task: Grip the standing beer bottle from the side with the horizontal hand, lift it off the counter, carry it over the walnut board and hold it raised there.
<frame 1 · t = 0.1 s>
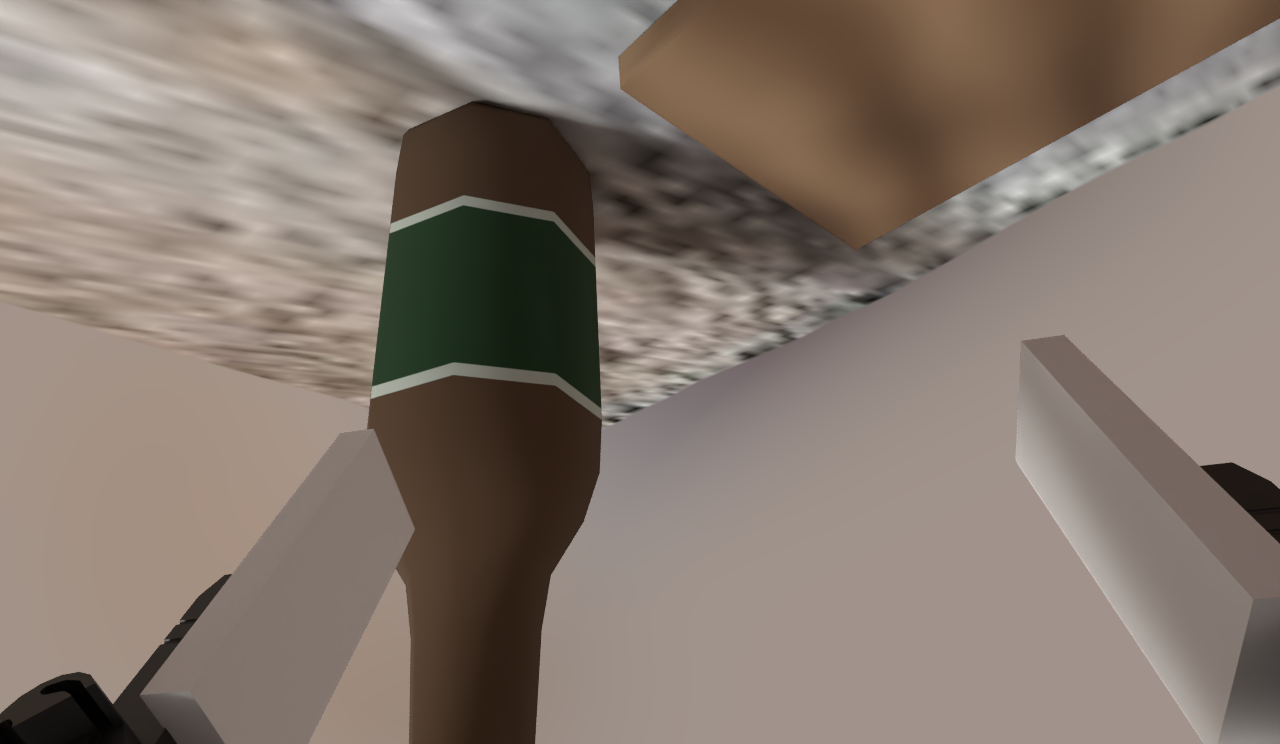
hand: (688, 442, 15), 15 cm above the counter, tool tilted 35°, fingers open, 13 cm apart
beer bottle: (493, 168, 30), on the counter
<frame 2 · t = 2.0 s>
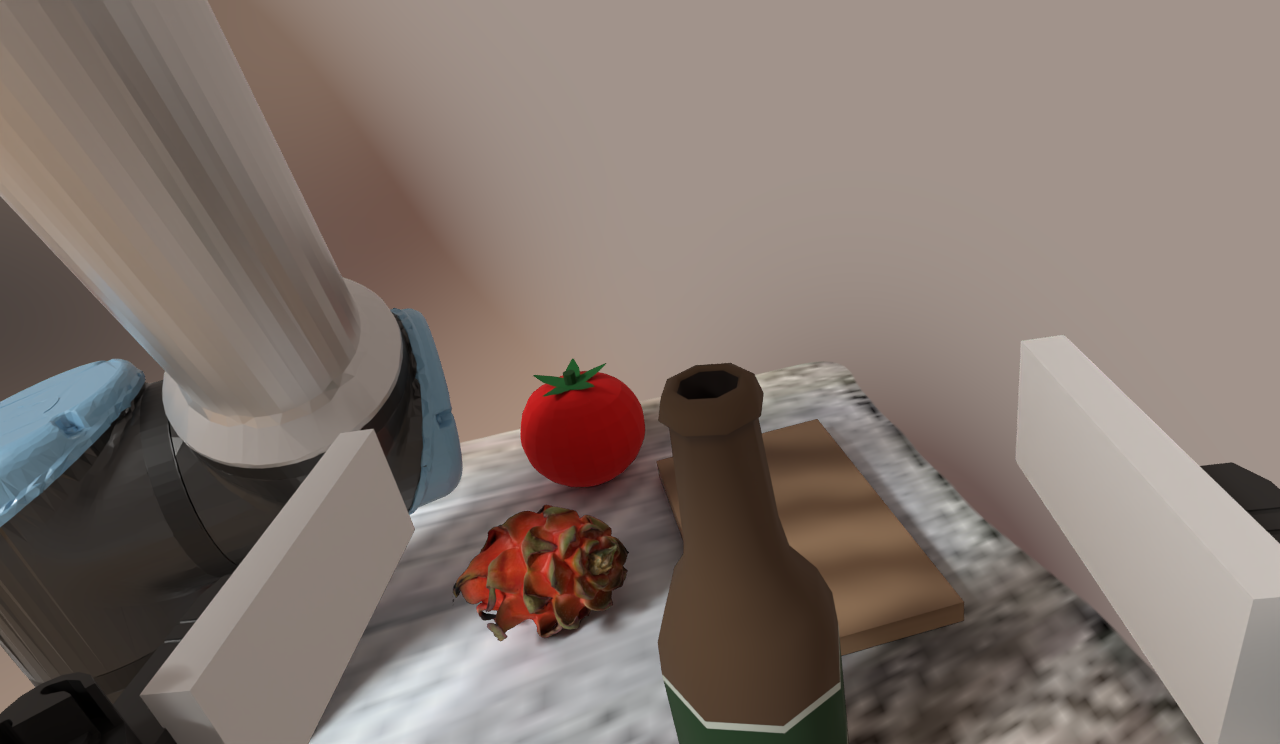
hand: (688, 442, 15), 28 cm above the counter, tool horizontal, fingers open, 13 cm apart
tomato: (595, 475, 65), on the counter
dragon fruit: (554, 614, 51), on the counter
walnut board: (785, 535, 53), on the counter
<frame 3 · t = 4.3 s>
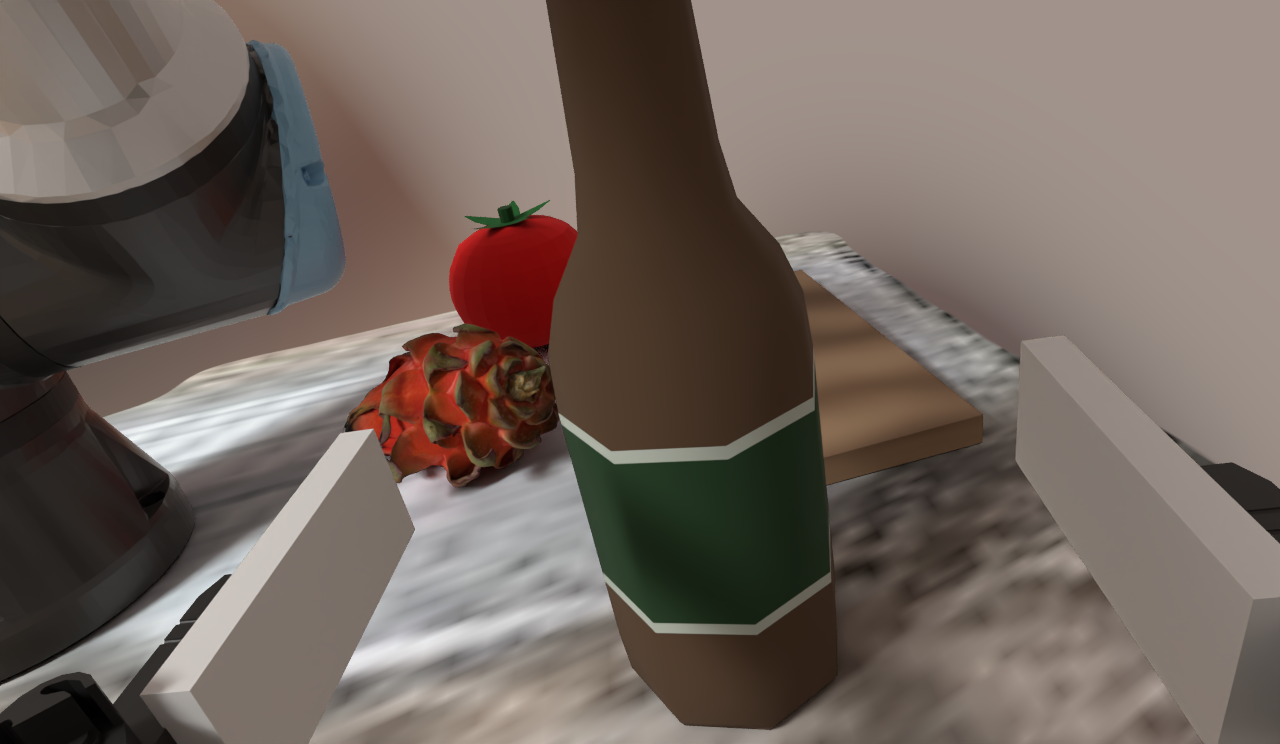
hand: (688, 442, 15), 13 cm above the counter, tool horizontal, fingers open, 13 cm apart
tomato: (541, 342, 55), on the counter
dragon fruit: (474, 468, 41), on the counter
walnut board: (760, 378, 44), on the counter
beer bottle: (736, 649, 27), on the counter
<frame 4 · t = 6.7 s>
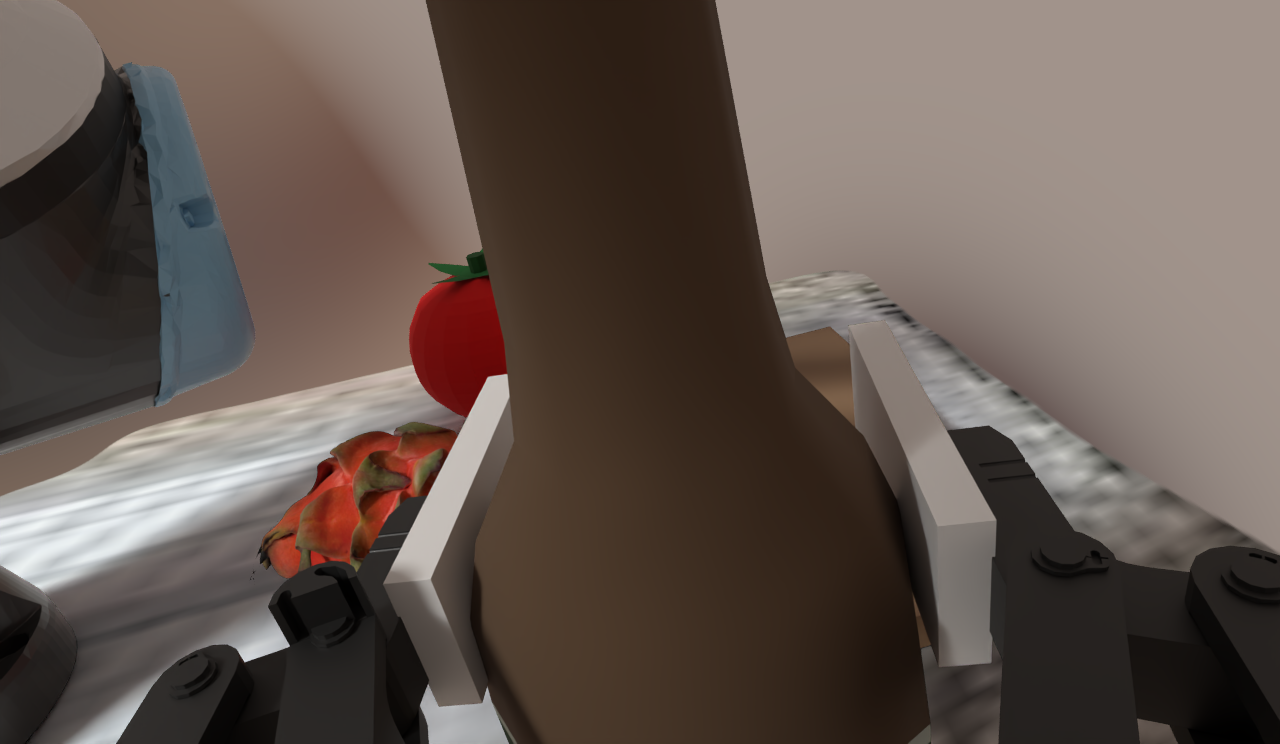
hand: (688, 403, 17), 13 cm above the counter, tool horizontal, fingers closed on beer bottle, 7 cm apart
tomato: (521, 409, 47), on the counter
dragon fruit: (427, 596, 33), on the counter
walnut board: (785, 477, 35), on the counter
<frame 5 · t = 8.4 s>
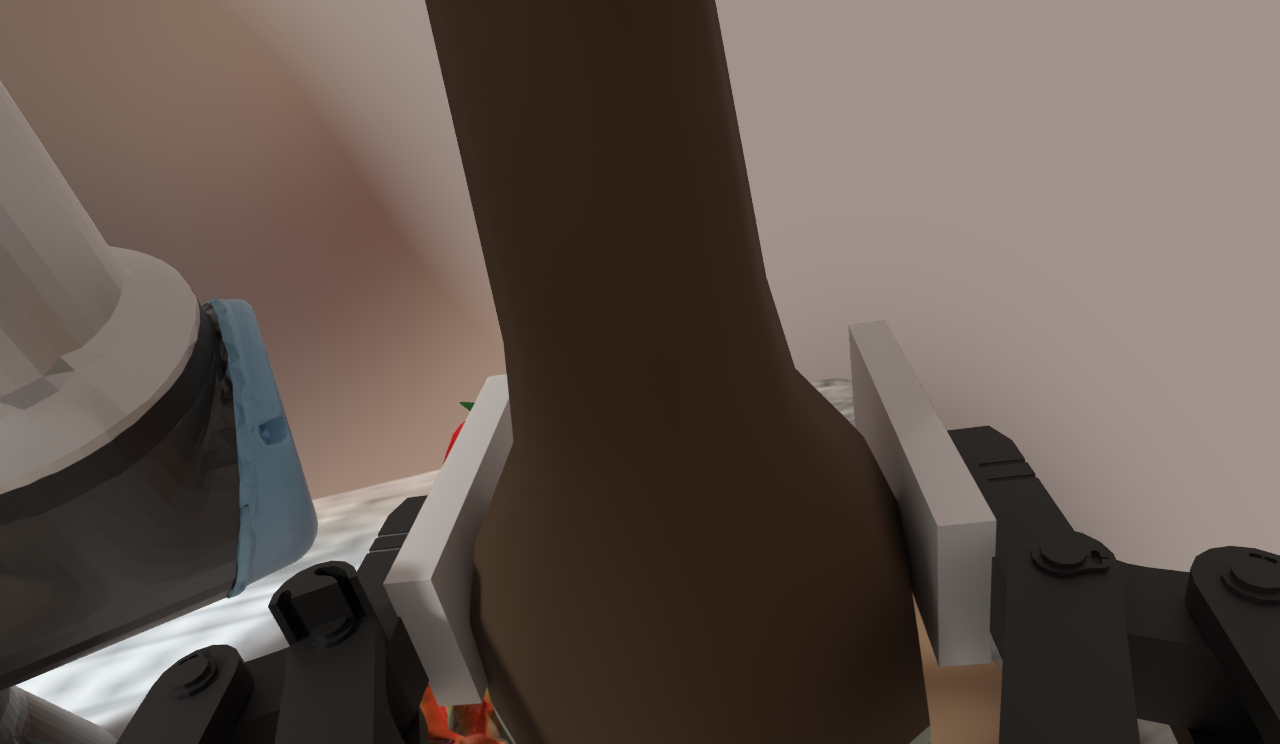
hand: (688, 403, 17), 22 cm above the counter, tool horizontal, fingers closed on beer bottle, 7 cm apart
walnut board: (794, 627, 39), on the counter
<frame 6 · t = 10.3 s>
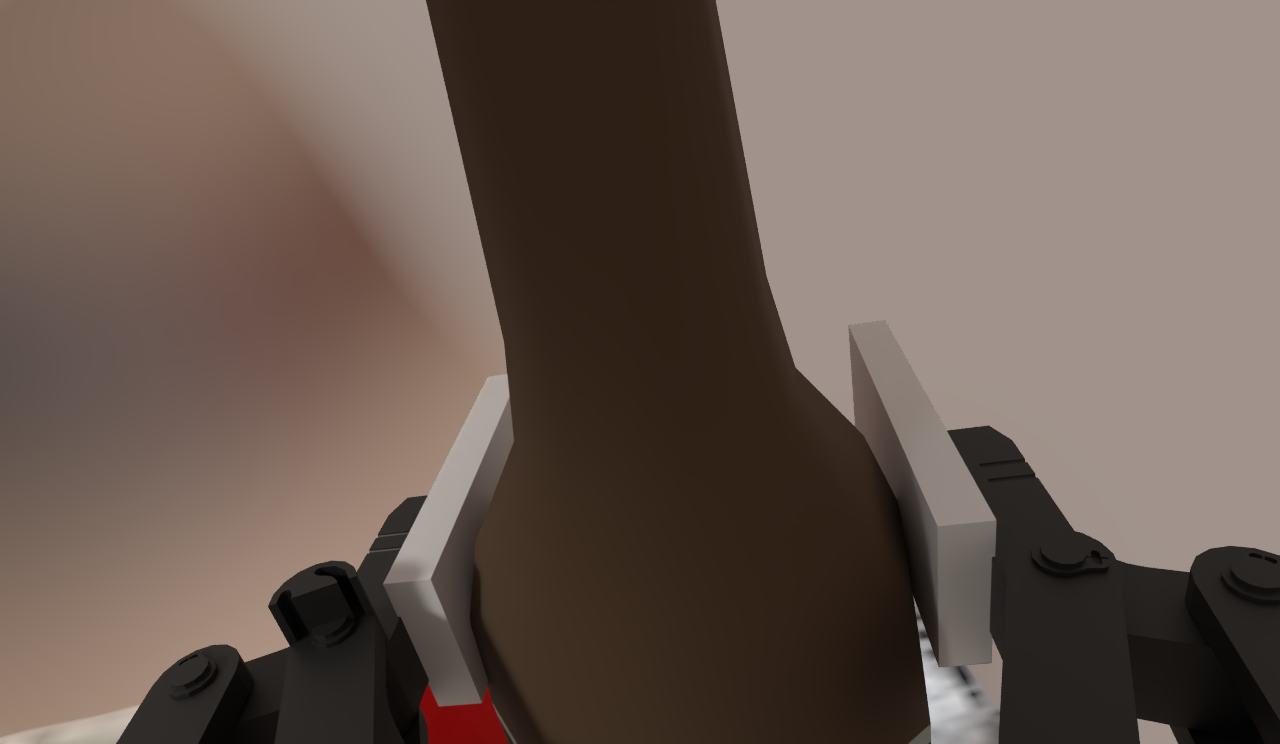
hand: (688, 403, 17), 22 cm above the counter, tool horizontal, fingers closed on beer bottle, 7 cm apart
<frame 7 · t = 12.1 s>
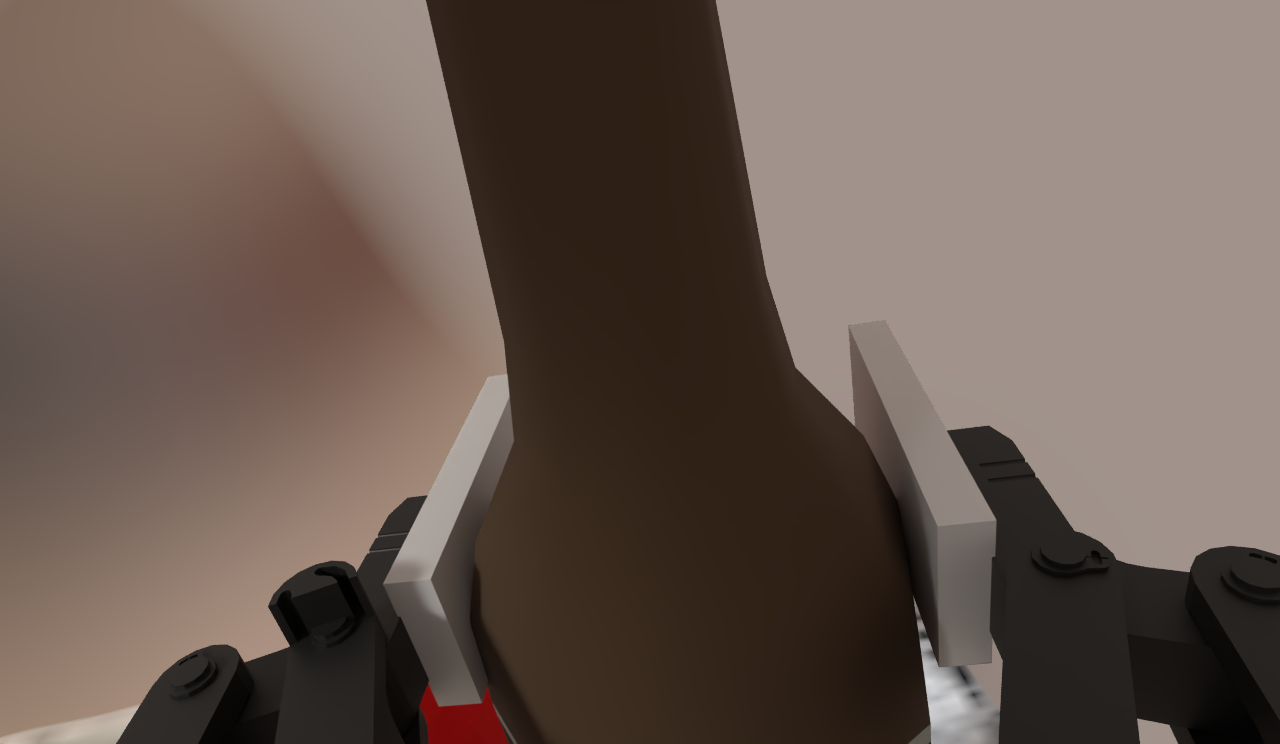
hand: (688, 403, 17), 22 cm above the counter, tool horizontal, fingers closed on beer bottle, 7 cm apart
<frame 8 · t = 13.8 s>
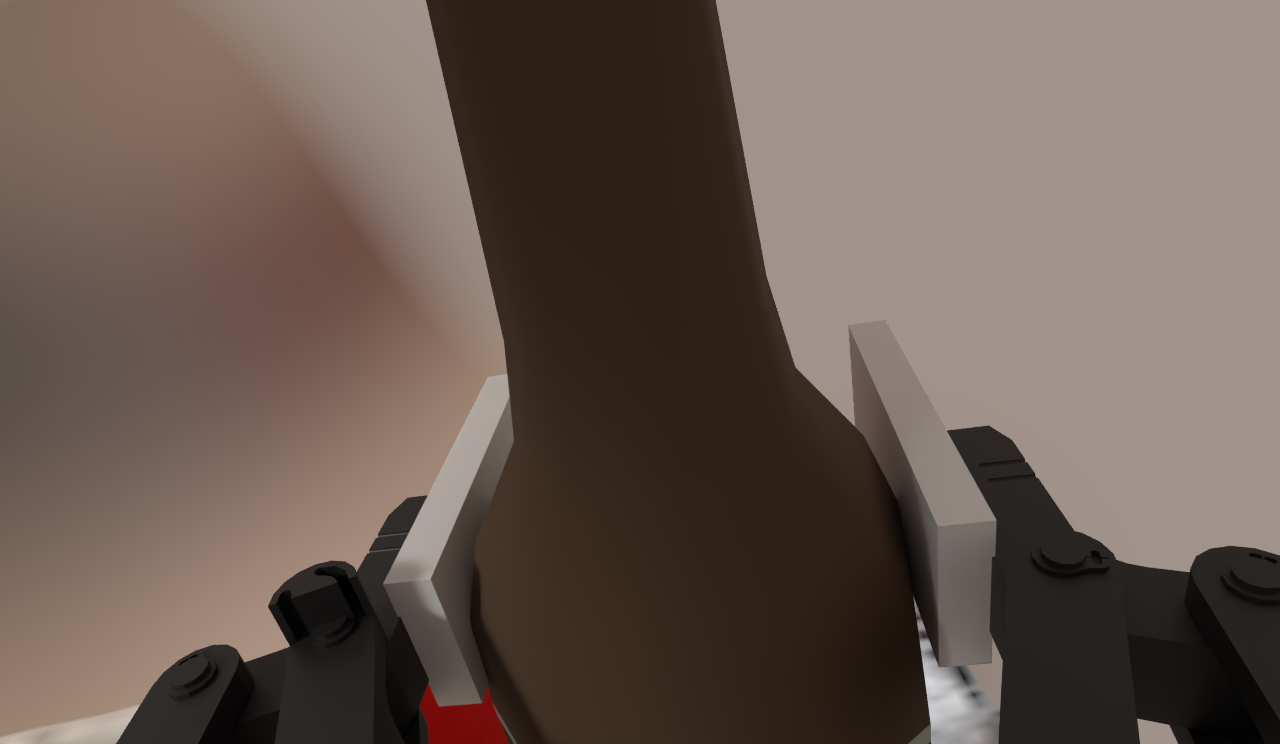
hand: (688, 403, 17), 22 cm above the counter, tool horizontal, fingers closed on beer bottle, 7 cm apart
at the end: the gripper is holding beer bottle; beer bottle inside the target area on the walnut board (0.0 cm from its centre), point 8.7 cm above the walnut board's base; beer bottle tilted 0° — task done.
